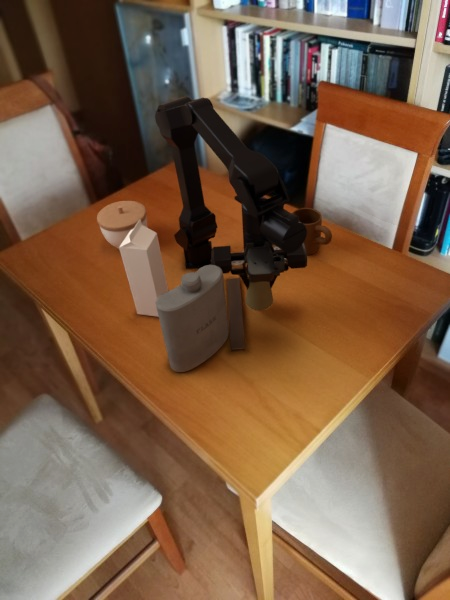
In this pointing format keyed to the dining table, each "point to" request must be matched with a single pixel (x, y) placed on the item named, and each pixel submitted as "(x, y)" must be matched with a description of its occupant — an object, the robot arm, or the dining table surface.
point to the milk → (144, 268)
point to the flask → (194, 318)
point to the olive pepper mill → (259, 295)
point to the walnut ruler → (235, 315)
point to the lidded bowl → (120, 220)
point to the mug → (313, 229)
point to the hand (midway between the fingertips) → (259, 288)
